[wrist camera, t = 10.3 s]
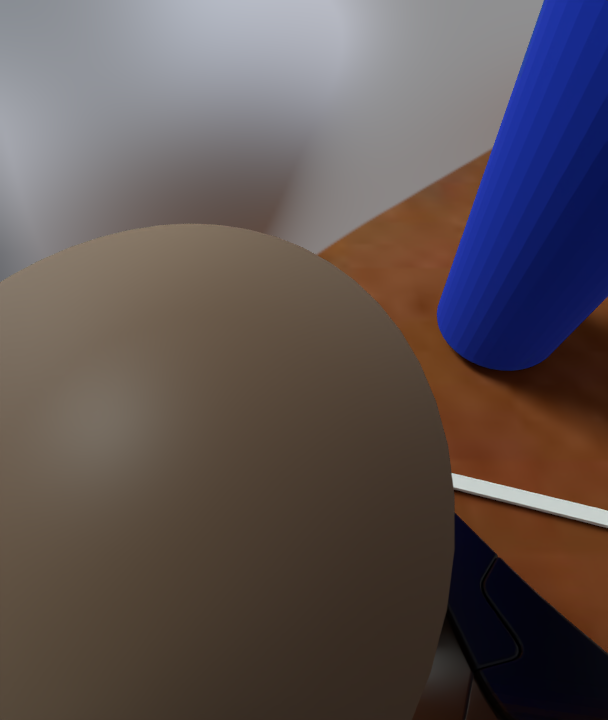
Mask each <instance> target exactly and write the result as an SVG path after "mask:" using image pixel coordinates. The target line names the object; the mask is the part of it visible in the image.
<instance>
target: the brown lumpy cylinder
mask: <svg viewBox="0 0 608 720" xmlns="http://www.w3.org/2000/svg"><path fill="white" fill-rule="evenodd" d="M454 549H455V547H454V488H453V480H452V473H451V466H450V458H449V451H448V444H447V440H446V437H445V433H444V429H443V426H442V422H441V418H440V415H439V411H438V407H437V404H436V400H435V398H434V396H433V393H432V391H431V389H430V386H429V384H428V382H427V379H426V377H425V374H424V372H423V370H422V367H421V365H420V363H419V361H418V360H417V358H416V356H415V354H414V353H413V351H412V349H411V348H410V346H409V344H408V343H407V341H406V339H405V338H404V336H403V334H402V333H401V331H400V330H399V328H398V327H397V326H396V325H395V323H394V322H393V321H392V320H391V318H390V317H389V316H388V315H387V313H386V312H385V311H384V310H383V308H382V307H381V306H380V305H379V303H378V302H377V301H376V300H374V299H373V298H372V297H371V296H370V295H369V294H368V293H367V292H366V291H365V290H364V289H363V288H362V287H361V286H360V285H359V284H358V283H357V282H356V281H355V280H353V279H352V278H350V277H349V276H348V275H346V274H345V273H344V272H342V271H341V270H339V269H338V268H337V267H335V266H334V265H333V264H331V263H330V262H328V261H326V260H325V259H323V258H321V257H319V256H317V255H315V254H314V253H312V252H310V251H308V250H306V249H304V248H303V247H300V246H298V245H295V244H293V243H290V242H287V241H285V240H282V239H280V238H277V237H275V236H271V235H267V234H263V233H260V232H256V231H252V230H248V229H243V228H236V227H228V226H222V225H209V224H174V225H159V226H152V227H145V228H139V229H132V230H128V231H123V232H119V233H115V234H111V235H107V236H103V237H99V238H97V239H94V240H90V241H87V242H84V243H81V244H78V245H75V246H72V247H70V248H67V249H65V250H63V251H60V252H58V253H56V254H54V255H51V256H49V257H46V258H44V259H42V260H40V261H38V262H36V263H34V264H32V265H30V266H28V267H26V268H24V269H23V270H21V271H19V272H17V273H15V274H13V275H11V276H10V277H8V278H6V279H5V280H3V281H2V282H0V720H412V718H413V716H414V713H415V711H416V708H417V705H418V703H419V700H420V698H421V695H422V693H423V690H424V688H425V685H426V683H427V680H428V678H429V675H430V673H431V669H432V665H433V661H434V657H435V654H436V650H437V646H438V642H439V638H440V634H441V630H442V626H443V622H444V619H445V615H446V611H447V605H448V597H449V589H450V581H451V573H452V565H453V557H454Z"/></svg>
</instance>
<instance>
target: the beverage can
mask: <svg viewBox="0 0 608 720" xmlns="http://www.w3.org/2000/svg"><path fill="white" fill-rule="evenodd" d="M607 296H608V0H544V2H543V5H542V8H541V11H540V13H539V17H538V19H537V22H536V25H535V28H534V31H533V34H532V37H531V39H530V42H529V45H528V48H527V51H526V54H525V57H524V60H523V62H522V65H521V68H520V71H519V74H518V77H517V80H516V83H515V86H514V88H513V91H512V94H511V97H510V100H509V103H508V106H507V109H506V111H505V114H504V117H503V120H502V123H501V126H500V129H499V132H498V135H497V137H496V140H495V143H494V146H493V149H492V152H491V155H490V158H489V160H488V163H487V166H486V169H485V172H484V175H483V178H482V181H481V184H480V186H479V189H478V192H477V195H476V198H475V201H474V204H473V207H472V209H471V212H470V215H469V218H468V221H467V224H466V227H465V230H464V233H463V235H462V238H461V241H460V244H459V247H458V250H457V253H456V256H455V258H454V261H453V264H452V267H451V270H450V273H449V276H448V279H447V282H446V284H445V287H444V290H443V293H442V296H441V299H440V302H439V305H438V310H437V321H438V325H439V329H440V331H441V333H442V335H443V337H444V339H445V340H446V341H447V343H448V344H449V345H450V346H451V347H452V348H453V349H454V350H455V351H456V352H457V353H458V354H460V355H461V356H462V357H464V358H465V359H467V360H469V361H470V362H472V363H475V364H477V365H479V366H482V367H486V368H489V369H495V370H502V371H513V370H522V369H526V368H529V367H532V366H534V365H537V364H539V363H540V362H542V361H543V360H545V359H546V358H547V357H548V356H549V355H550V354H551V353H552V352H553V351H554V350H555V349H556V348H557V347H558V346H559V345H560V344H561V343H562V342H563V341H564V340H565V339H566V338H567V337H568V336H569V335H570V334H571V333H572V332H573V331H574V330H575V329H576V328H577V327H578V326H579V325H580V324H581V323H582V322H583V321H584V320H585V319H586V318H587V317H588V316H589V315H590V314H591V313H592V312H593V311H594V310H595V309H596V308H597V307H598V306H599V305H600V304H601V303H602V302H603V301H604V300H605V299H606V298H607Z"/></svg>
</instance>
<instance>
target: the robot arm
mask: <svg viewBox="0 0 608 720" xmlns="http://www.w3.org/2000/svg"><path fill="white" fill-rule="evenodd" d="M454 547H455V549H454V557H453V565H452V573H451V581H450V589H449V597H448V605H447V611H446V615H445V619H444V622H443V626H442V630H441V634H440V638H439V642H438V646H437V650H436V654H435V657H434V661H433V665H432V669H431V673H430V675H429V678H428V680H427V683H426V685H425V688H424V690H423V693H422V695H421V698H420V700H419V703H418V705H417V708H416V711H415V713H414V716H413V718H412V720H608V653H607V652H605V651H604V650H603V649H602V648H601V647H599V646H598V645H597V644H596V643H595V642H593V641H592V640H591V639H590V638H589V637H588V636H586V635H585V634H584V633H583V632H582V631H580V630H579V629H578V628H577V627H576V626H574V625H573V624H572V623H571V622H570V621H569V620H567V619H566V618H565V617H564V616H563V615H562V614H561V613H559V612H558V611H557V610H556V609H555V608H554V607H553V606H551V605H550V604H549V603H548V602H547V601H546V600H544V599H543V598H542V597H541V596H540V595H539V594H538V593H537V592H536V591H535V590H534V589H532V588H531V587H530V586H529V585H528V584H527V583H526V582H525V581H524V580H523V579H522V578H521V577H520V576H519V575H518V574H517V573H516V572H514V571H513V570H512V569H511V568H510V567H509V566H508V565H507V564H506V563H505V562H504V561H503V560H502V559H501V558H499V557H498V555H497V554H496V553H495V552H494V551H493V550H492V549H491V548H490V547H489V546H488V545H487V544H486V543H485V542H484V541H483V540H482V539H481V538H480V537H479V536H478V535H477V534H476V533H475V532H474V531H473V530H472V529H471V528H470V527H469V526H468V525H467V524H466V523H465V522H464V521H463V520H462V519H461V518H460V517H459V516H458V515H457V514H456V513H455V512H454Z"/></svg>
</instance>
